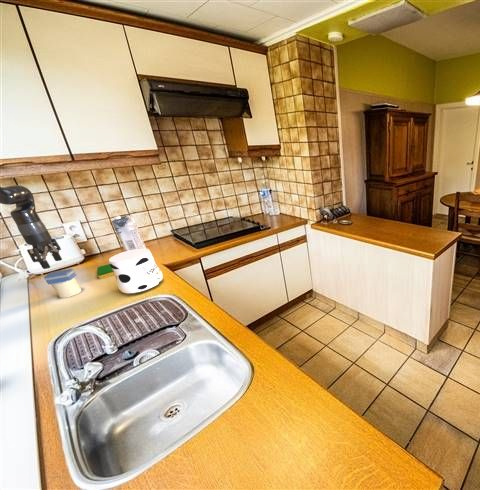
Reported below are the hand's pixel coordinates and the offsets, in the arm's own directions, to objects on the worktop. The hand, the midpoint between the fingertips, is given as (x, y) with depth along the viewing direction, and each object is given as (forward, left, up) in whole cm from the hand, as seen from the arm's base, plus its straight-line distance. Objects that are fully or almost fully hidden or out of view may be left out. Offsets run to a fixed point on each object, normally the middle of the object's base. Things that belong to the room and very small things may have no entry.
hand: (53, 264), depth 123 cm
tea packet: (0, 0, -8) cm, 8 cm away
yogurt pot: (0, 0, -16) cm, 16 cm away
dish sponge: (+7, +20, -17) cm, 27 cm away
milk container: (+33, -9, -17) cm, 38 cm away
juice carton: (+16, +38, -17) cm, 44 cm away
